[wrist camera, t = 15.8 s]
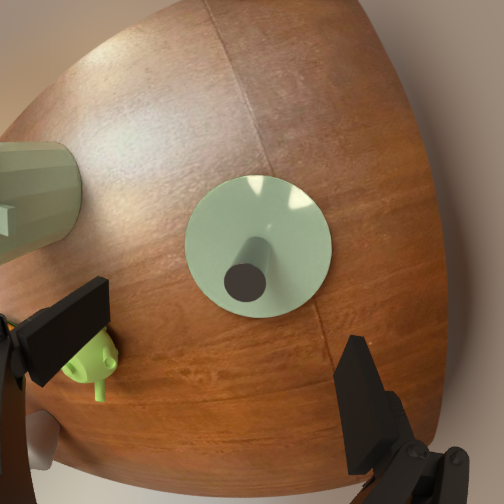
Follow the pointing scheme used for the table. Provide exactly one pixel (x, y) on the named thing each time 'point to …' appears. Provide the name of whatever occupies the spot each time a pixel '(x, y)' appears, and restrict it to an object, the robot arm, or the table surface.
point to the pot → (36, 196)
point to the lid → (258, 246)
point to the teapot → (94, 363)
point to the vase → (41, 439)
